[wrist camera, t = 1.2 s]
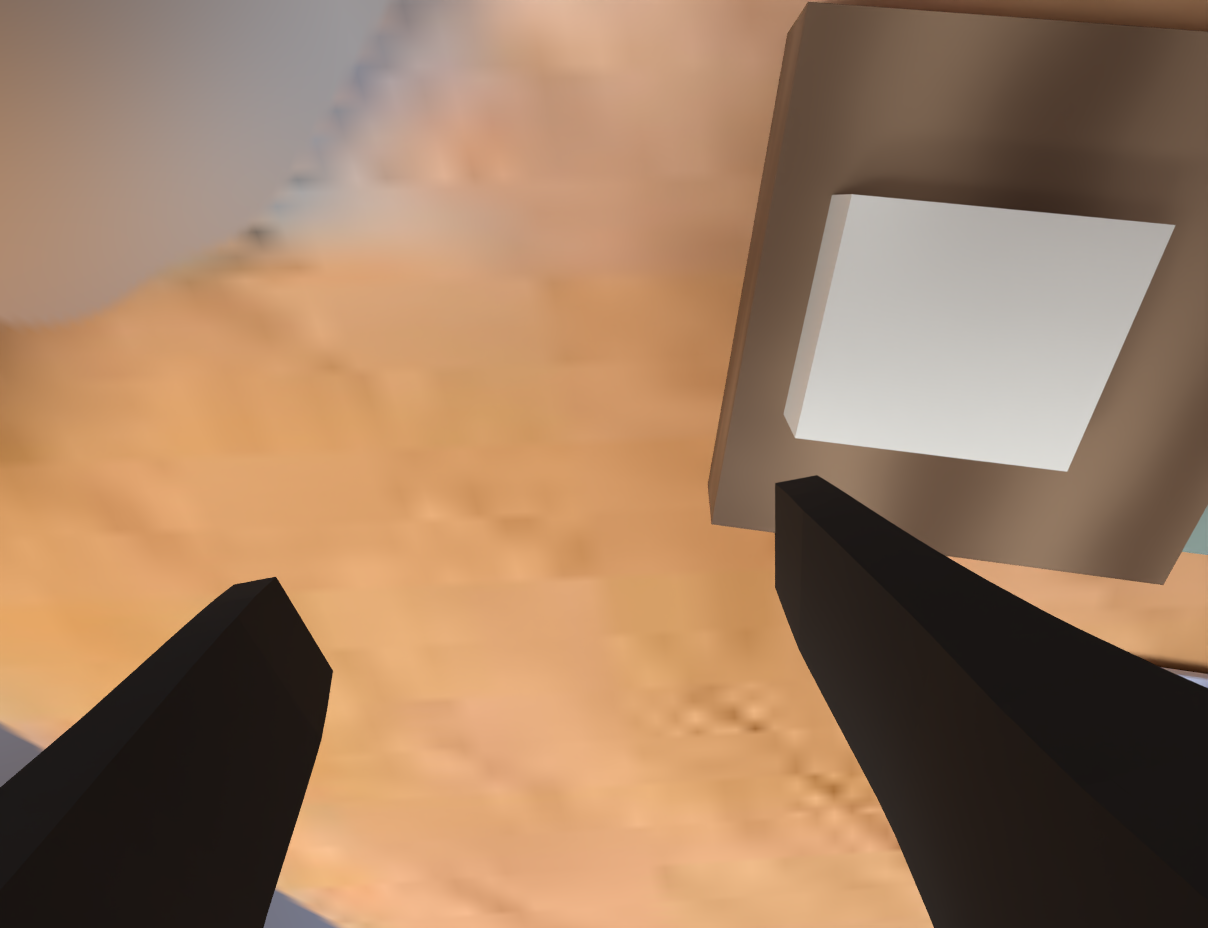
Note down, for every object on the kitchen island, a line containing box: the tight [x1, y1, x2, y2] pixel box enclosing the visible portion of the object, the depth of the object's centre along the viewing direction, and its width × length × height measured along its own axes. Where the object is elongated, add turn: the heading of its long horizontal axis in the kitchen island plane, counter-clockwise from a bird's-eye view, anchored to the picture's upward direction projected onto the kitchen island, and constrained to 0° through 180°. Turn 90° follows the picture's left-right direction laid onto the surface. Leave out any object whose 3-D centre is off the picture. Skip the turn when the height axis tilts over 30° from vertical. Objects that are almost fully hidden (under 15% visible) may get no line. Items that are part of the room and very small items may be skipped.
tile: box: [784, 194, 1175, 472], centre depth 16 cm, size 7×6×2 cm
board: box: [708, 2, 1208, 585], centre depth 18 cm, size 14×14×3 cm
